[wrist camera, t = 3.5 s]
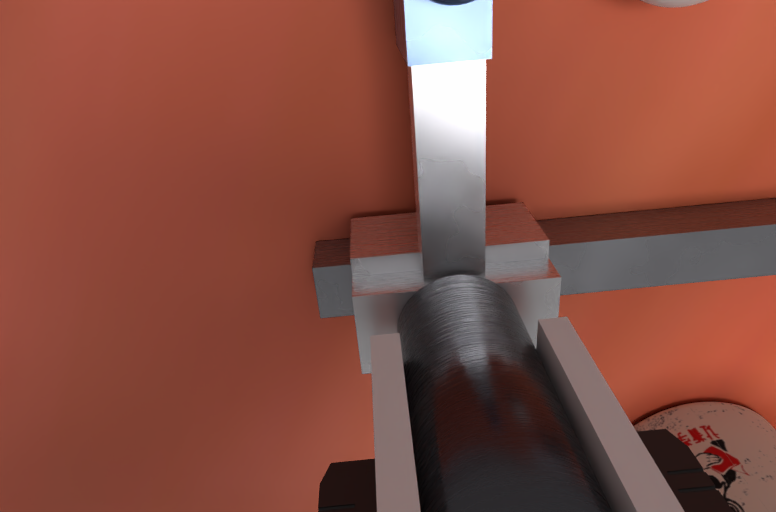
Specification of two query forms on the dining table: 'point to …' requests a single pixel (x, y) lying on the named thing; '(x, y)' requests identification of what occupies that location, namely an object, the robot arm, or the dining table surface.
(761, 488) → the teacup with lid
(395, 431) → the robot arm
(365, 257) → the kicker
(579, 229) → the rail
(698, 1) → the ball
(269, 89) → the dining table surface
